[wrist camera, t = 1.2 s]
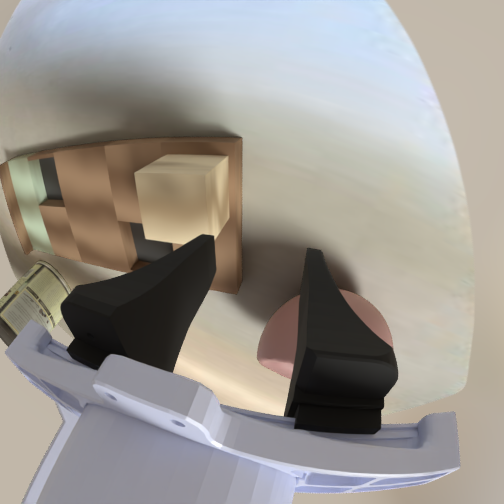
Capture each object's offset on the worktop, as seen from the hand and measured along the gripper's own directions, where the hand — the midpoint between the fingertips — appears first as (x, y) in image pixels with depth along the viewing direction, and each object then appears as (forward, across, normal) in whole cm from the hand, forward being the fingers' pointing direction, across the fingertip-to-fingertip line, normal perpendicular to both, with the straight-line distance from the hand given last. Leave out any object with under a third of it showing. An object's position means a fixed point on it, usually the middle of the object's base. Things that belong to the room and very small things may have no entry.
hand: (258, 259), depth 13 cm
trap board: (+10, +20, +4) cm, 22 cm away
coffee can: (+11, +38, +20) cm, 44 cm away
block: (+8, +6, 0) cm, 11 cm away
